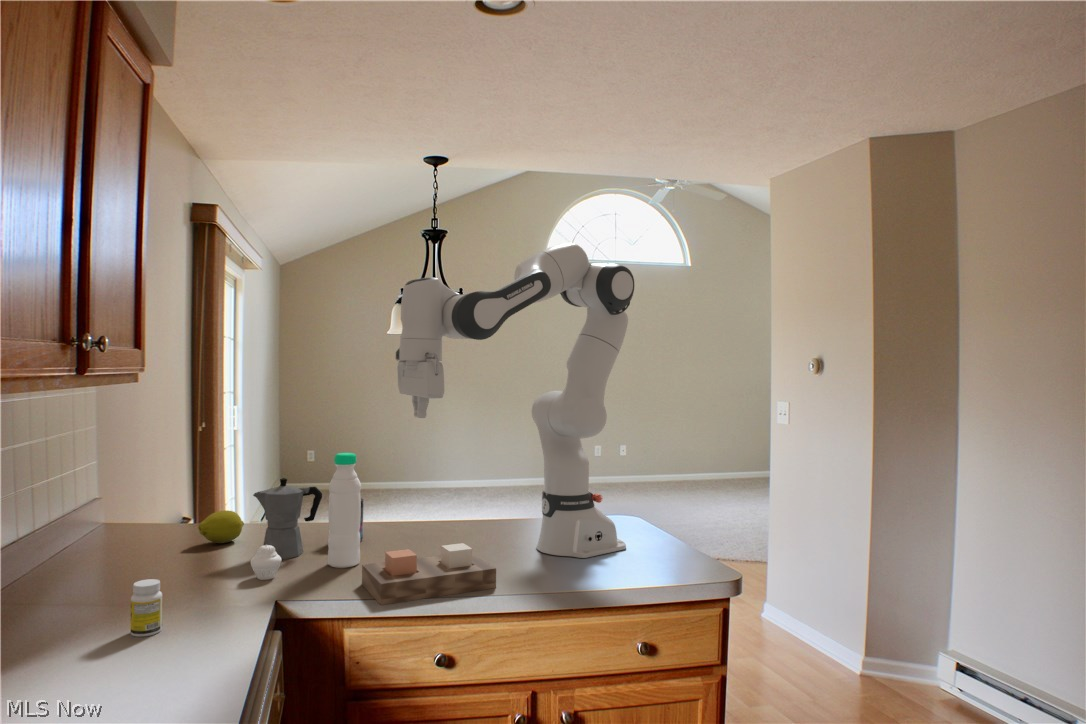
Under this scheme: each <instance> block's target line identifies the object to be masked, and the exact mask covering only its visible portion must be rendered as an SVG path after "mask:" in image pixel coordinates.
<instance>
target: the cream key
mask: <svg viewBox="0 0 1086 724" xmlns="http://www.w3.org/2000/svg"><path fill="white" fill-rule="evenodd" d="M472 553H473V548H472V547H470V546H469V545H467V544H465V543H463V542H462V543H452V544H445V545H443V544H442V545H441V546H440V555H441V564H442V565H444V566H445V567H446V568H448V569H449V568H456V567H464V566H471V565H472Z"/></svg>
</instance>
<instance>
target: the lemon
mask: <svg viewBox="0 0 1086 724" xmlns="http://www.w3.org/2000/svg"><path fill="white" fill-rule="evenodd" d="M244 525H245V521H243V520H242V518H241V516H240V515H239V514H238V513H237V512H236V511H233V510H220V511H215V512H213V513H211V514H209V515H208V516H207V517H205V518H204V520H202V521H200V523H198V531H199V534H200V535H201V536H203V537H204V538H205V539H206V540H208V541H209V542H212V543H215V544H226V543H229V542H231V541H234V540H235V539H237V538H238V537H239V536H240V535H241V533H242V531H243V527H244Z"/></svg>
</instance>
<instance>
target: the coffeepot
mask: <svg viewBox="0 0 1086 724" xmlns="http://www.w3.org/2000/svg"><path fill="white" fill-rule="evenodd" d="M279 482H280V485H278V486H276V487H275V486H274V487H272V488H267V489H265V490H259V491H257V492H254V493H253V495H252V496H253V497H254V498H256V500H258V502H259V504H260V506H262V508H263V510H264V515H265V520H266V521H267V527H266V529H265V534H264V539H263V540H264V541H263V545H262V546H265V545H271V546H273V547H274V548H275V551H276V552H277V554H278V555H279V556H280V557H281V559H282V560H289V559H293V558H297V557H299V556H301V555H302V554H303V552H304V546H303V541H302V534H301V529H300V526H299V525H298V524H299V523H298V522H299V521H298V519H299V518H300V517H301V511H302V505H303V499H304V497H306V496H310V495H314V498H313V501H312V506H311V508H310V511H309V513H310V514H309V516H307V517H304V518H303V520H304V521H305V522H312V521H314V520H315V517H316V515H317V511H318V509H319V506H320V504H321V500H322V498H323V493H322V491H321V490H319V488H318V487H317V486H304V487H295V486H291V485H290V486H289V485H287V482H288V478H284V477H282V478H279Z"/></svg>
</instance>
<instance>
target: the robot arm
mask: <svg viewBox="0 0 1086 724" xmlns="http://www.w3.org/2000/svg"><path fill="white" fill-rule="evenodd" d="M513 278H514V280H513V281H511V282H509V283H507V284H505V285H503V286H501V287H500V288H498V289H496V290H493V291H484V290H479V291H472V292H469V293H464V294H461V293H459V292H456V291H455V290H453V289H451V288H449V287H448V286H447V285H446V284H444V283H443V282H442V281H441V280H440V278H437V277H434V276H433V277H432V276H430V277H422V278H415V279H412V280H408V281H407V282H406V283H405V284H404V287H403V290H402V295H401V305H400V321H401V325H402V327H401V328H402V329H401V335H400V344H399V348H397V350H396V351H395V361H397V362H398V363H397V387H398V390H399V394H401V395H407V396H411V403H412V407H413V416H414V418H418V419H426V417H427V410H428V407H429V403H430V402H429V401H430V399H443V397H444V394H445V373H444V366H443V363H442V359H443V350H442V349H443V337H446V338H449V339H453V340H454V339H455V340H456V339H460V340H464V339H465V340H467V339H470V340H476V341H481V340H482V341H483V340H486V339H489V338H491V337H492V336H494V335H495V334H496V332H498V331H499V330H500V328H501V327H502V326H503V324H504V323H505V322H506V321H507V320H508V319H509V318H511V316H513V315H515V314H517V313H518V312H520V311H522V310H523V309H525V308H527V307H529V306H531V305H533V304H535V303H541V302H543V301H546V300H550V299H551V298H553V297H556V296H558V295H559V294H560V295H561V298H562V299H563V301H564V302H566V303H567V304H569V305H571V306H574V307H578V308H582V307H583V308H586V320H585V321H584V322H585V323H584V324H583V326H582V328H581V330H580V332H579V335H578V336H577V339H576V341H575V342H574V345H573V347H572V349H571V351H570V354H569V357H568V358H567V361H566V368H567V372H568V373H567V379H566V383H565V387H564V390H551V391H546V392H545V393H542V394H540V395H539V396H537V397H536V398H535V400H534V402H533V403H532V407H531V417H532V419H533V423H535V425H536V427H537V430H538V434H539V440H540V444H541V448H542V455H543V463H544V464H543V465H544V467H543V468H544V469H543V472H544V474H543V490H542V492H541V512H542V519H541V527H540V533H539V537H538V541H537V544H536V550H537V551H538V552H541V553H544V554H547V555H552V556H559V557H560V556H561V557H573V558H578V559H579V558H580V559H587V558H591V557H595V556H596V557H597V556H600V555H605V554H609V553H613V552H618V551H623V550H625V549H627V545H626V543H625V542H624V540H621V539H619V538H618V534H617V529H616V528H617V527H616V525H615V522H614V521H613V520H612V519H611V518H609V517H608V516H607V515H606V514H604V513H603V512H602V511H600V510H599V509H598V508H597V507H596V506H595V502H596V503H598V504H599V503H601V502H602V501H603V496H602V494H600V493H592V492H590V491H589V486H590V485H589V482H590V479H589V478H590V477H589V476H590V474H589V473H590V469H589V468H590V462H589V459H588V457H587V455H586V453H585V451H584V448H583V446H582V441H581V440H582V439H588V438H592V437H594V436H597V435H599V434H600V433H601V432H602V431H603V429H604V428H605V426H606V424H607V417H608V415H607V410H606V407H605V402H604V401H605V394H606V393H605V391H606V386H607V382H608V380H609V376H610V374H611V372H612V369H613V367H614V366H615V362H616V360H617V357H618V355H619V353H620V351H621V349H622V345H623V343H624V339H625V336H626V333H627V330H628V329H627V328H628V324H629V316H628V314H627V313H626V311H627V309H629V306H630V304H631V300H632V298H633V296H634V293H635V278H634V275H633V273H632V271H631V269H629V268H628V267H626V266H624V265H622V264H618V263H614V262H612V263H606V262H605V263H603V262H602V263H601V262H597V263H590V262H589V258H588V255H587V253H586V251H585V250H584V249H583V248H582V246H580V245H579V244H577V243H573V242H567V243H562V244H561V243H560V244H557V245H554V246H551V247H547V248H545V249H542V250H540V251H537V252H536V253H533V254H532V255H530V256H528V257H527V258H525V259H524V260H523V261H521V262H520V263H519V264H517V265H516V268H515V271H514V277H513Z"/></svg>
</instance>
